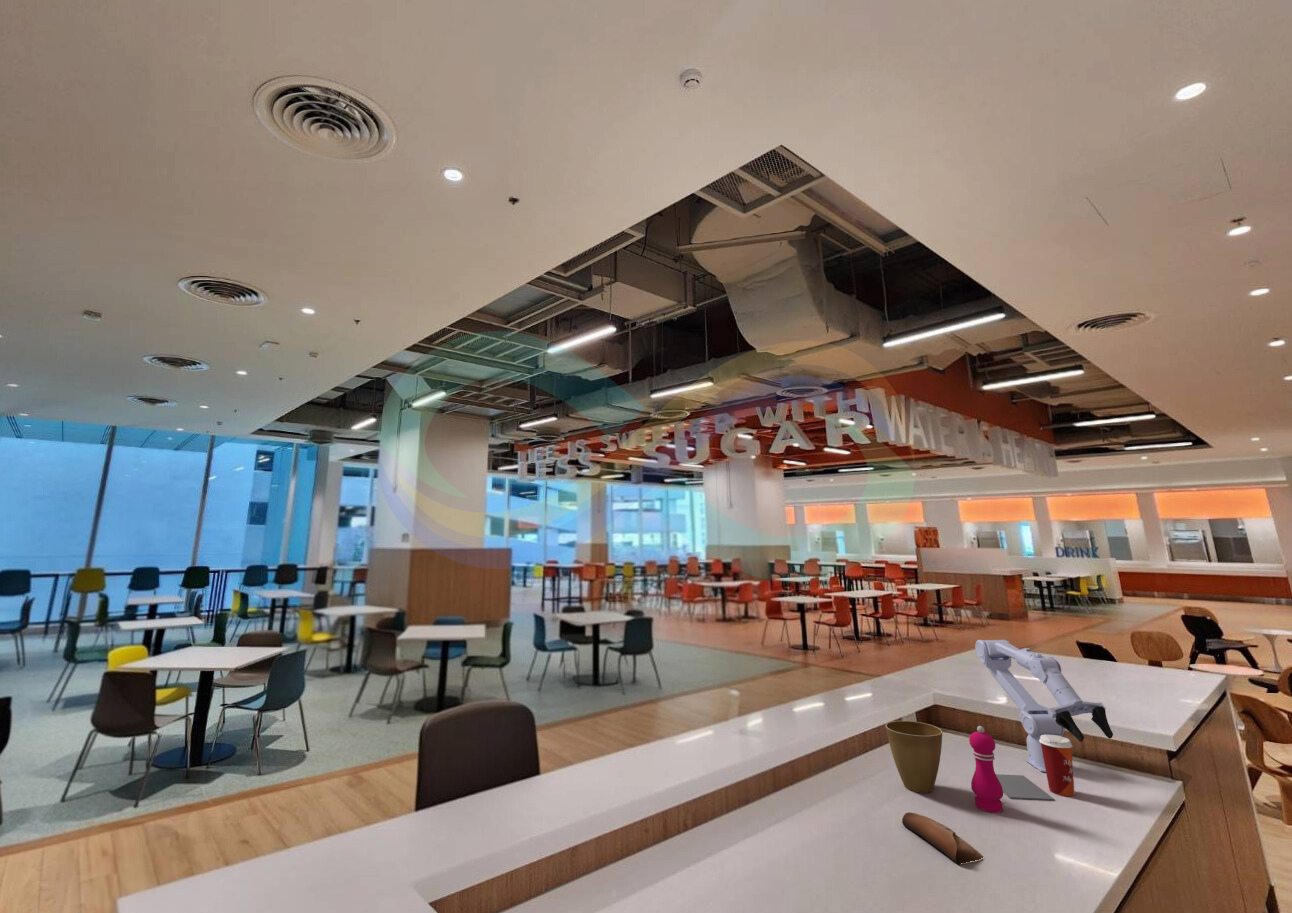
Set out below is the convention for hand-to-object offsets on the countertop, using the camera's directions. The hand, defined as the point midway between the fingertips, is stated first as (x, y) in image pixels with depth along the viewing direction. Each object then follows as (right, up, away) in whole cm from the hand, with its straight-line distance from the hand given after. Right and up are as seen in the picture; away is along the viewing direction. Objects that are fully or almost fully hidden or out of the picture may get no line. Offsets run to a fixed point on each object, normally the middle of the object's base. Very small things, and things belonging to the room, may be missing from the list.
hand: (1096, 737), depth 153 cm
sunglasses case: (-55, -13, -24) cm, 62 cm away
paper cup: (-9, -16, +1) cm, 18 cm away
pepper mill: (-34, -15, -7) cm, 38 cm away
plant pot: (-46, -17, +5) cm, 50 cm away
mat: (-19, -16, +5) cm, 25 cm away
